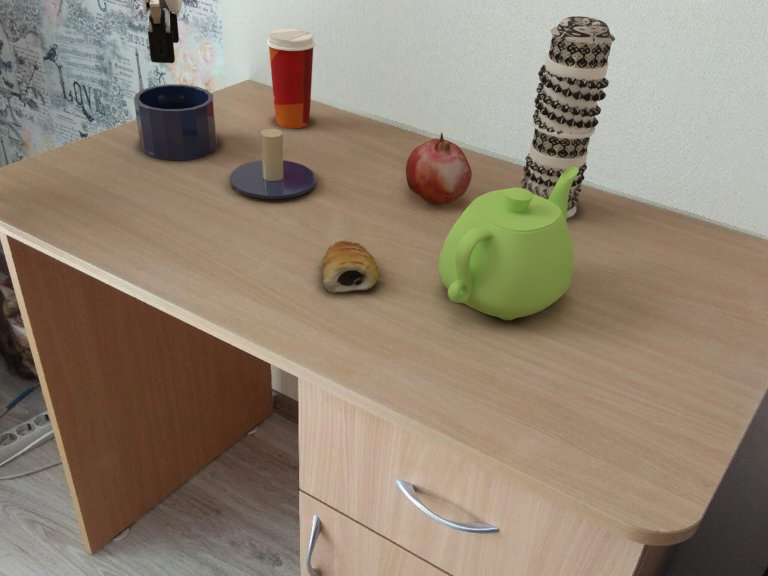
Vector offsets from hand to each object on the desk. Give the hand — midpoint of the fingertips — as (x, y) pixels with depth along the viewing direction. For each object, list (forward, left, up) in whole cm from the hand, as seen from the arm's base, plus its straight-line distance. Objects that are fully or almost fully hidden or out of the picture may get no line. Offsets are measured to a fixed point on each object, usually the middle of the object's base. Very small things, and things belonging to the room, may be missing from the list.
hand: (165, 51), depth 112 cm
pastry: (+22, -40, -14) cm, 48 cm away
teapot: (+41, -44, -14) cm, 62 cm away
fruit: (+37, -19, -14) cm, 44 cm away
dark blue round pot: (0, 0, -14) cm, 14 cm away
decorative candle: (+53, -22, -14) cm, 59 cm away
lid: (+14, -14, -13) cm, 24 cm away
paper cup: (+18, +10, -14) cm, 25 cm away
